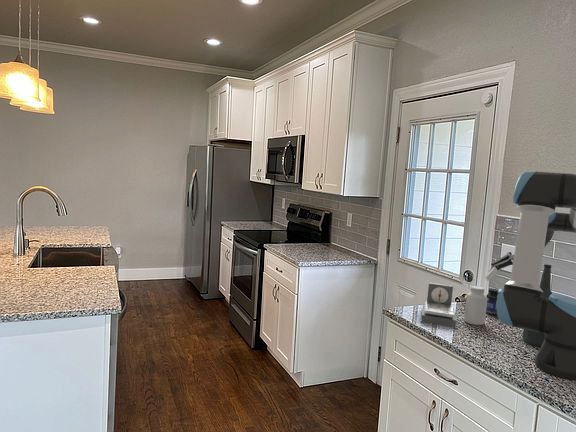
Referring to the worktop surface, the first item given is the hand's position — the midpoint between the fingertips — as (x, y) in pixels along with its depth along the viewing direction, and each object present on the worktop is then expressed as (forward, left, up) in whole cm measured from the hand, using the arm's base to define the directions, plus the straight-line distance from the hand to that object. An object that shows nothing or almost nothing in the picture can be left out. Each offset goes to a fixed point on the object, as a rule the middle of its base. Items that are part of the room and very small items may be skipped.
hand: (498, 283), depth 186 cm
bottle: (-20, -12, -17) cm, 29 cm away
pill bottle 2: (+13, 0, -17) cm, 21 cm away
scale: (-9, +23, -17) cm, 30 cm away
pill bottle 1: (-6, +9, -17) cm, 20 cm away
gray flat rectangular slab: (-11, +23, -13) cm, 28 cm away
